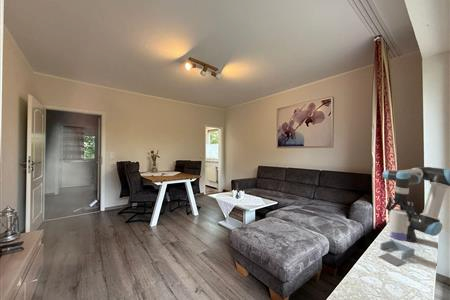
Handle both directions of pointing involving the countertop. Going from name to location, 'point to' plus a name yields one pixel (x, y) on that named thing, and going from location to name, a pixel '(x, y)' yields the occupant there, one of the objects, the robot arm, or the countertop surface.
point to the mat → (392, 259)
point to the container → (398, 225)
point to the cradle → (399, 248)
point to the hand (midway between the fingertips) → (398, 222)
